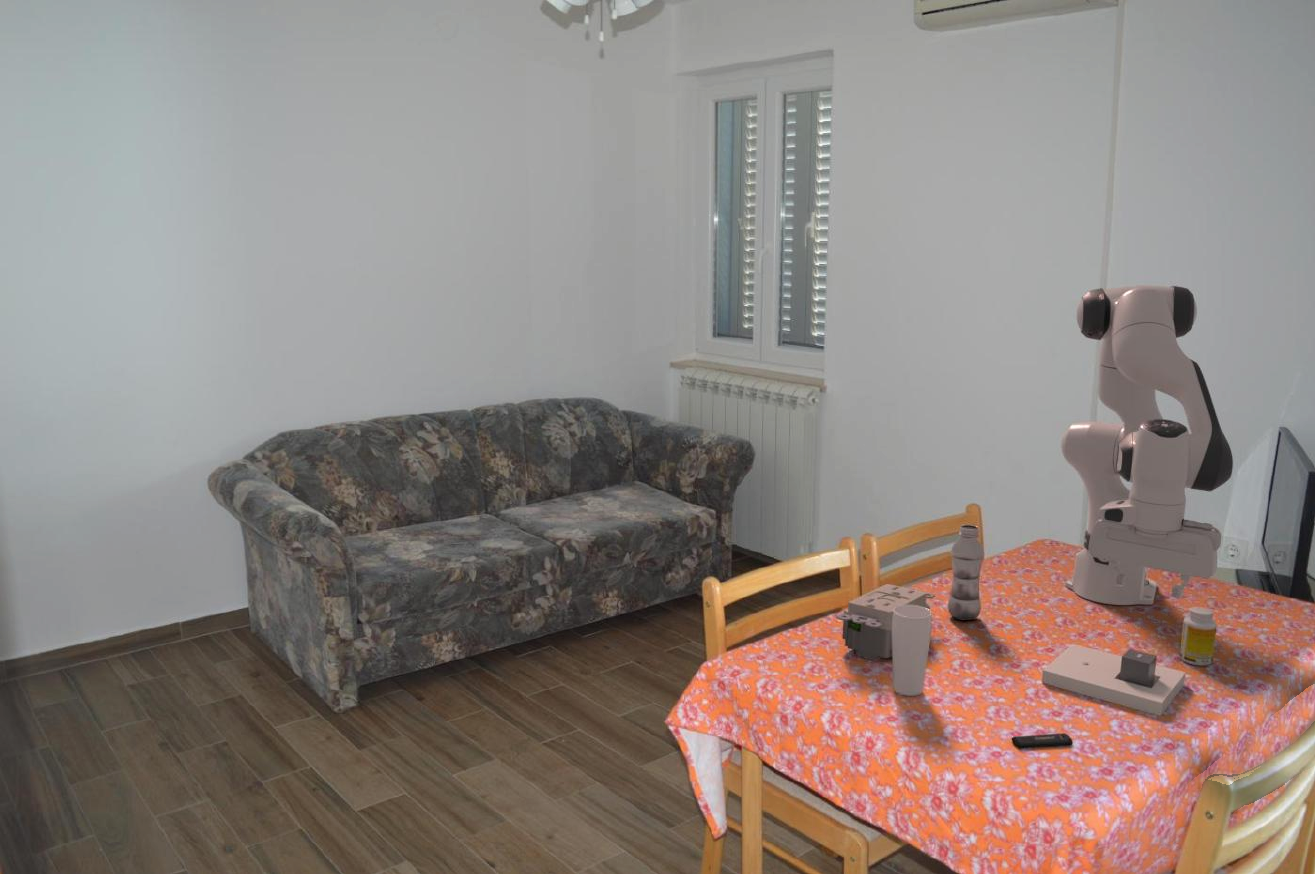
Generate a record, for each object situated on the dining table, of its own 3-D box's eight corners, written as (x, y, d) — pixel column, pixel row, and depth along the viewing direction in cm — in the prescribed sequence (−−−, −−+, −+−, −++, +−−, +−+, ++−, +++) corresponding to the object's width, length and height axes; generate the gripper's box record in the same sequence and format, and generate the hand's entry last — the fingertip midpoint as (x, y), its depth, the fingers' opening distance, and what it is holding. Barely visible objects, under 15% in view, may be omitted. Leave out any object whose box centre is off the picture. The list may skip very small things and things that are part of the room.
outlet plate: (1071, 655, 197) (1072, 643, 196) (1184, 684, 184) (1185, 671, 184) (1041, 682, 185) (1042, 669, 184) (1160, 715, 172) (1161, 702, 172)
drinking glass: (920, 702, 176) (925, 621, 174) (882, 693, 180) (887, 613, 177) (932, 688, 182) (937, 608, 179) (895, 679, 186) (899, 601, 183)
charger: (1126, 679, 185) (1129, 648, 184) (1153, 686, 182) (1156, 655, 181) (1118, 688, 182) (1121, 656, 180) (1146, 695, 179) (1149, 663, 177)
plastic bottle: (983, 623, 212) (990, 531, 208) (951, 623, 212) (957, 531, 209) (975, 612, 219) (981, 523, 215) (943, 612, 219) (949, 522, 215)
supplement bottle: (1218, 666, 192) (1224, 615, 190) (1189, 667, 192) (1195, 615, 190) (1201, 654, 197) (1207, 604, 195) (1173, 655, 197) (1179, 605, 195)
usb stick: (1017, 751, 161) (1018, 742, 161) (1009, 743, 163) (1010, 734, 163) (1073, 747, 162) (1074, 739, 162) (1065, 739, 165) (1065, 731, 164)
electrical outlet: (824, 657, 194) (827, 606, 192) (887, 622, 216) (891, 577, 215) (881, 673, 187) (885, 620, 185) (940, 635, 209) (944, 588, 208)
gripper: (1226, 521, 171) (1217, 599, 174) (1100, 501, 184) (1093, 573, 187) (1218, 530, 167) (1209, 609, 169) (1089, 508, 179) (1082, 582, 182)
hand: (1147, 590), depth 178 cm, fingers open, 8 cm apart
